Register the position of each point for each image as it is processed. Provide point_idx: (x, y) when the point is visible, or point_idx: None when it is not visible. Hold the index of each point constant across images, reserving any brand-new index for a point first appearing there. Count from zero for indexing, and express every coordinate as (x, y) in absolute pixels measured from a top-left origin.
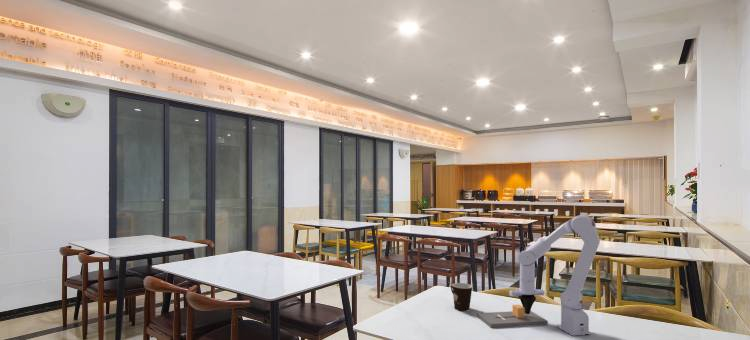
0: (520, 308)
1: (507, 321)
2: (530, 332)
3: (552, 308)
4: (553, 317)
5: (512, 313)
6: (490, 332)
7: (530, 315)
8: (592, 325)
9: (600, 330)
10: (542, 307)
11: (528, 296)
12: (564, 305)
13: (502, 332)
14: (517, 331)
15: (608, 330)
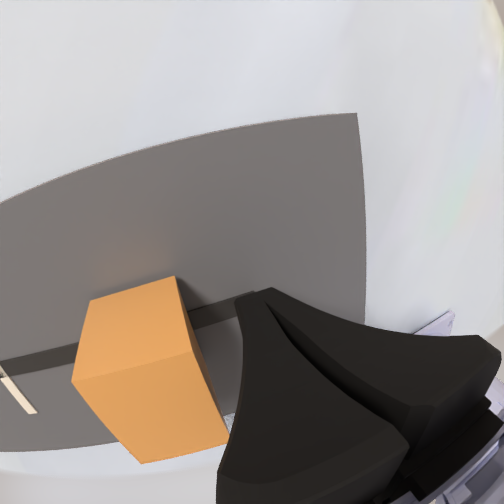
0: (174, 451)
1: (55, 432)
2: (188, 461)
3: (481, 42)
4: (444, 195)
5: (89, 305)
6: (5, 466)
7: (294, 276)
8: (492, 285)
9: (477, 329)
10: (448, 6)
11: (383, 500)
12: (436, 499)
13: (50, 470)
14: (119, 463)
15: (491, 319)
